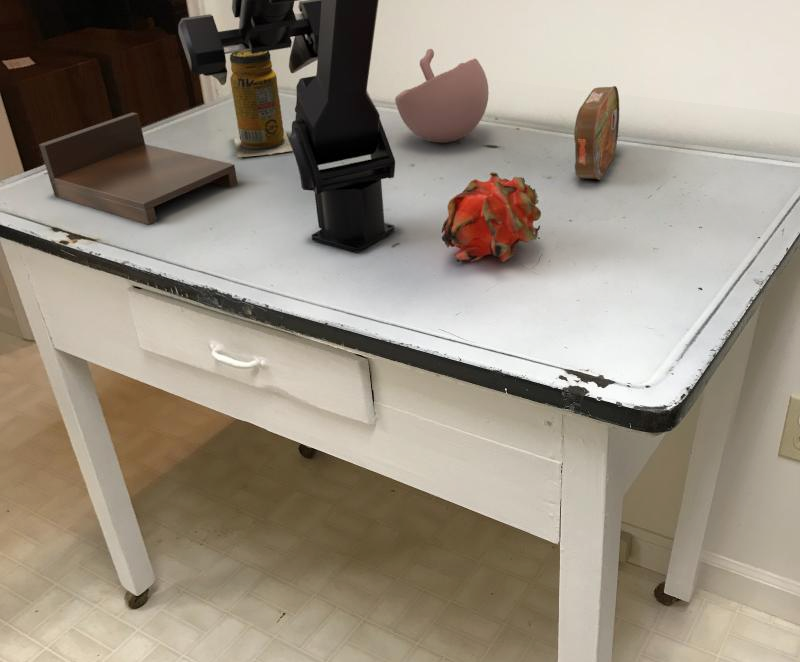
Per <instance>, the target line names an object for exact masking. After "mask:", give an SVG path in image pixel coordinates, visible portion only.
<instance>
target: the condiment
mask: <svg viewBox="0 0 800 662" xmlns="http://www.w3.org/2000/svg"><path fill="white" fill-rule="evenodd" d="M271 56H272V55H271V53H270V51H265V52H258V53H252V54H251V51H250V50H247V51H241V52H235V53H230V55H229V61H230V65H231V66H230V69H231V72H232V73H231V76H230V78H229V81H230V87H231V94H232V99H233V104H234V110H235V116H236V124H237V129H238V135H239V137H234V138H233V140H234V146H235V153H236V156H237V158H242V157H245V158H247V157H254V156H256V157H259V156H266V155H269V156H271V155H274V154H283V153H286V152H287V153H288V152H293V149H292V145H291V142H290V139H289V138H288V135H287V132H286V131H285V130H284V122H283V115H282V109H281V100H280V94H279V87H278V79H277V74H276V72H275V70H273V69H272V67H273V62H272V60H271Z"/></svg>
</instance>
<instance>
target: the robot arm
mask: <svg viewBox="0 0 800 662" xmlns="http://www.w3.org/2000/svg"><path fill="white" fill-rule="evenodd" d="M297 1H299V2H298V10H299V12H300V13H295V11H294V5H295V2H297ZM231 2H232V3H231V11H232V14H233V16H234V18H235V19H237V18H238V19H239V23H238V28H234V29H228V30H227V29H226V30H221V31H219V30H218V27H217V24H216V21H215V18H214V16H213V15H212V14H210V13H208V14H201V15H196V16H194V15H193V16H187V17H181V19H180V21H179V23H178V36H179V39H180V42H181V45H182V48H183V50H184V54H185V57H186V60H187V64H188V66H189V70H190V72H191V73H193V74H195V75H197V76H200V75H203V76H205V77H210V76H211V77H213V78H214V79H216V80H217V81H218V82H219V84H220V85H221V86H225V85H226V83H227V79H228V68H227V58H226V55H228V54H232V53H235V52H241V51H247V50H250V51H251V54H252V53H258V52H265V51H269V52H270V51H277V50H282V49H288V48H291V49H290V55H289V60H288V69H289V72H290V73H291V74H295V73H297V72H298V71H300V70H302V69H303V68H305V67H307V66H309V65H311V64H312V63H314V62H316V61H317V63H316V74H315V75H312V76H307V77H301V78H300V79H299V80H298V81H297V84H296V87H295V89H296V103H295V107H294V112H295V118H294V119H295V120H293V121H292V123H291V132H290V137H289V142H290V145H291V148H292V152H293V156H294V159H295V162H296V165H297V169H298V173H299V178H300V186H301V189H302V190H304V191H312V192H313V193H314V199H315V207H316V217H317V224H318V228H319V230H318V231H317V230H316V232H313V233H312V234H311V235H310V236H311V240H312V241H314V242H318V243H321V244H325V245H328V246H332V247H336V248H340V249H343V250H347V251H350V252H353V253H354V252H355V253H357V252H361V251H363V250H364V249H366V248H368V247H370V246H371V245H373V244H374V243H376V242H378V241H381V239H383V238H384V237H386V236H388V235H390V234H391V233H394V231H395V225H393V224H391V223H386V222H385V212H384V199H383V185H382V180H384V179H393V178H395V172H396V171H395V170H396V159H395V156H394V154H393V151H392V148H391V145H390V143H389V140H388V138H387V135H386V132H385V129H384V127H383V124H382V120H381V119H380V118H381V115H380V113H379V111H378V109H377V107H376V105H375V103H374V101H373V99H372V98H371V95H370V93H369V92H368V82H369V76H370V68H371V61H372V53H373V46H374V39H375V30H376V24H377V15H378V7H379V0H231ZM293 37H294V38H293ZM292 38H293V41H292ZM366 156H369V157H370V159H366V160H365V159H364V160H361V161H356V162H350V163H346V164H340V165H337V166H331V167H328V168H322V169H319V166H321V165H327V164H331V163H336V162H341V161H345V160H351V159H356V158H360V157H366Z"/></svg>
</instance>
